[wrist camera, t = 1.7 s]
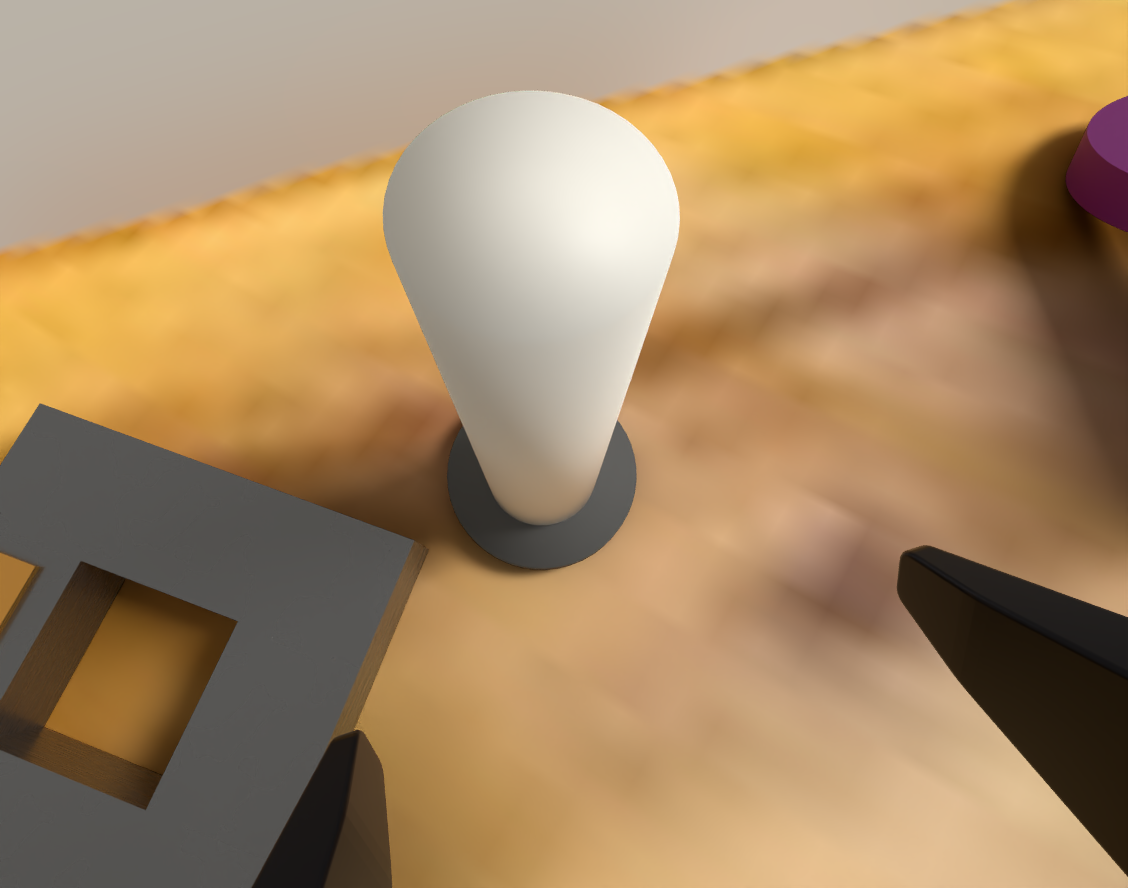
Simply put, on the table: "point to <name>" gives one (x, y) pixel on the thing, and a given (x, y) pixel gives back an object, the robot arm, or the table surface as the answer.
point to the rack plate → (240, 679)
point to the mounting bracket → (1103, 166)
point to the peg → (533, 280)
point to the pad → (549, 541)
